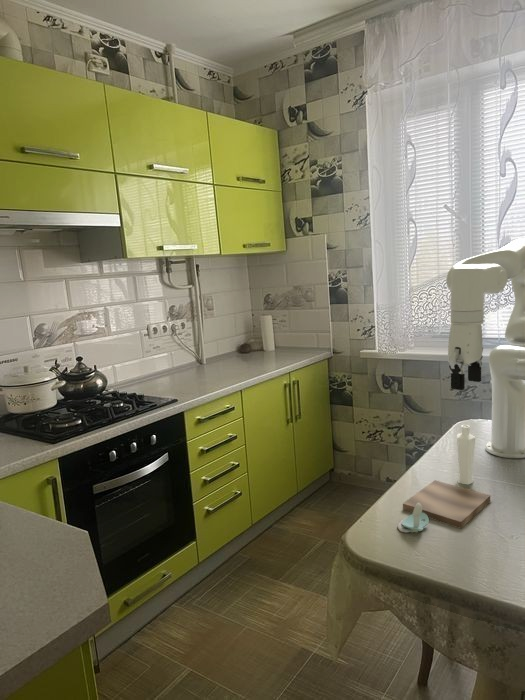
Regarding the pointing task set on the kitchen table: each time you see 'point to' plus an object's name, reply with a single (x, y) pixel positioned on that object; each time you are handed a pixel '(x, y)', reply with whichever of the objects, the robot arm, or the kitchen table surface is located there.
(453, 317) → the robot arm
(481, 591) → the kitchen table surface
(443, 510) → the walnut board
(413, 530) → the pacifier
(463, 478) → the white tall faceted piece
